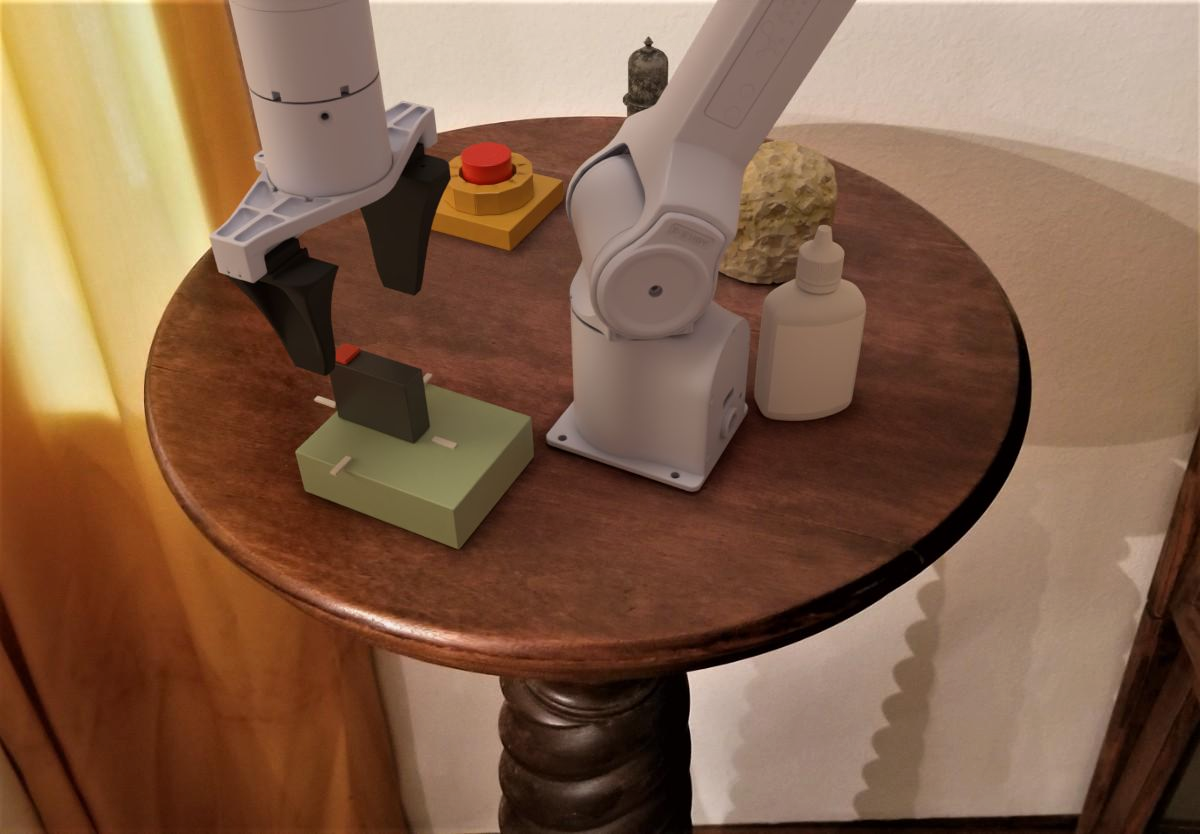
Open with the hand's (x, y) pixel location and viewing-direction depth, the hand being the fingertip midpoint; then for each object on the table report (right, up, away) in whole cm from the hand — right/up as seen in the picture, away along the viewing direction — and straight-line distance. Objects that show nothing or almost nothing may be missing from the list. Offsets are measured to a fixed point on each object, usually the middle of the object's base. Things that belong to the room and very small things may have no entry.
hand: (360, 326), depth 59 cm
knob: (+1, -5, +3) cm, 6 cm away
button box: (+4, +11, +26) cm, 28 cm away
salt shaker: (+16, +13, +28) cm, 35 cm away
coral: (+24, +7, +22) cm, 33 cm away
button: (+4, +13, +24) cm, 27 cm away
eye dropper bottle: (+24, -4, +9) cm, 26 cm away
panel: (+2, -8, +5) cm, 9 cm away
